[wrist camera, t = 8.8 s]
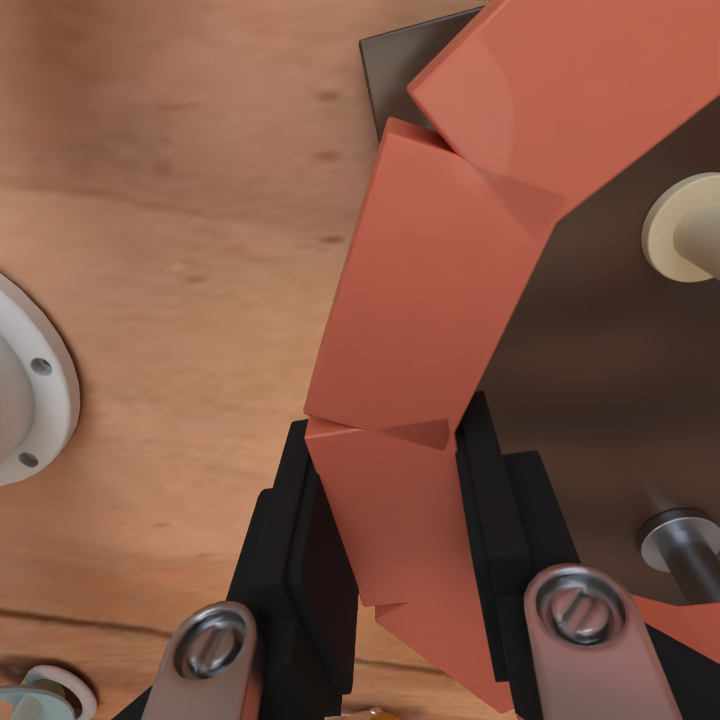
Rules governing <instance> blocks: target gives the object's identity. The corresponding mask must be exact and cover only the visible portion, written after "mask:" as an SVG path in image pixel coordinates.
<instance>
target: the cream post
mask: <svg viewBox="0 0 720 720" xmlns="http://www.w3.org/2000/svg"><path fill="white" fill-rule="evenodd" d="M641 244H642V250H643V253H644V255H645V258H646V259H647V261H648V263H649V264H650V265H651V266H652V267H653V268H654V269H656V270H657V271H658V272H660V273H661V274H662V275H664V276H666V277H667V278H670V279H672V280H675V281H680V282H698V281H703V280H707V279H710V278H713V277H715V278H716V279H718V280H719V281H720V173H717V172H709V173H701V174H697V175H694V176H691V177H688V178H686V179H684V180H682V181H680V182H678V183H676V184H675V185H673V186H672V187H670V188H669V189H668V190H667V191H665V192H664V193H663V194H662V195H661V196H660V197H659V198H658V199H657V201H656V202H655V203H654V205H653V206H652V207H651V209H650V211H649V212H648V214H647V216H646V219H645V221H644V224H643V228H642V234H641Z"/></svg>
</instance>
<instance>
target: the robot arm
mask: <svg viewBox="0 0 720 720" xmlns="http://www.w3.org/2000/svg"><path fill="white" fill-rule="evenodd" d="M79 411H80V389H79V382H78V379H77V375H76V371H75V368H74V364H73V361H72V359H71V357H70V355H69V353H68V351H67V349H66V347H65V345H64V343H63V341H62V339H61V337H60V335H59V334H58V333H57V331H56V330H55V328H54V327H53V326H52V324H51V323H50V321H49V320H48V318H47V317H46V316H45V314H44V313H43V312H42V311H41V310H40V309H39V308H38V307H37V306H36V305H35V304H34V302H33V301H32V300H31V299H30V298H29V297H28V296H27V295H26V294H25V293H24V292H23V291H22V290H21V289H20V288H18V287H17V286H16V285H15V284H13V283H12V282H11V281H10V280H8V279H7V278H6V277H5V276H3V275H2V274H1V273H0V486H3V485H7V484H11V483H15V482H19V481H22V480H25V479H27V478H29V477H31V476H33V475H35V474H37V473H39V472H40V471H41V470H43V469H44V468H45V467H46V466H47V465H49V464H50V463H51V462H52V461H53V460H54V459H55V458H56V457H57V456H58V454H59V453H60V452H61V451H62V450H63V448H64V447H65V446H66V445H67V444H68V442H69V440H70V438H71V436H72V434H73V432H74V430H75V428H76V426H77V422H78V417H79ZM308 420H309V419H305V420H299V421H294V422H292V423H291V426H290V429H289V433H288V436H287V440H286V443H285V447H284V450H283V454H282V457H281V461H280V464H279V468H278V471H277V475H276V478H275V482H274V485H273V488H270V489H264V490H263V491H261V492H260V495H259V497H258V499H257V502H256V506H255V509H254V512H253V515H252V518H251V522H250V525H249V528H248V531H247V534H246V538H245V541H244V544H243V547H242V550H241V553H240V557H239V560H238V563H237V566H236V569H235V573H234V576H233V579H232V582H231V585H230V589H229V592H228V595H227V598H226V601H220V602H217V603H213V604H210V605H207V606H205V607H203V608H202V609H200V610H198V611H196V612H195V613H193V614H192V615H191V616H190V617H189V618H187V619H186V620H185V621H184V622H183V623H182V624H181V625H180V626H179V628H178V629H177V630H176V631H175V633H174V634H173V635H172V637H171V639H170V641H169V643H168V645H167V647H166V649H165V652H164V655H163V658H162V661H161V664H160V667H159V669H158V672H157V675H156V678H155V681H154V684H153V685H152V686H151V687H150V688H148V689H147V690H146V691H145V692H144V693H142V694H141V695H140V696H139V697H138V698H136V699H135V700H134V701H133V702H132V703H130V704H129V705H128V706H127V707H126V708H124V709H123V710H122V711H121V712H120V713H119V714H117V715H116V716H115V717H114V718H113V719H111V720H324V717H332V716H341V705H342V695H345V694H350V693H351V691H352V685H353V671H354V656H355V641H356V625H357V610H358V594H359V588H358V585H357V582H356V579H355V576H354V573H353V571H352V568H351V565H350V562H349V559H348V556H347V553H346V550H345V548H344V545H343V542H342V539H341V536H340V533H339V530H338V528H337V525H336V522H335V519H334V516H333V513H332V510H331V507H330V505H329V502H328V499H327V496H326V493H325V490H324V487H323V484H322V482H321V479H320V476H319V473H316V470H315V467H314V464H313V462H312V459H311V456H310V453H309V450H308V447H307V445H306V442H305V439H304V437H305V433H306V429H307V424H308ZM455 437H456V442H457V448H458V451H457V452H456V453H455V457H456V463H457V470H458V476H459V482H460V488H461V495H462V501H463V507H464V513H465V520H466V526H467V532H468V538H469V545H470V550H471V556H472V562H473V568H474V573H475V578H476V583H477V589H478V594H479V599H480V604H481V609H482V615H483V620H484V625H485V630H486V636H487V641H488V646H489V651H490V656H491V662H492V667H493V672H494V677H495V682H509V685H510V691H511V696H512V701H513V703H514V709H515V713H516V714H518V715H519V716H520V717H521V718H522V719H524V720H720V664H719V663H717V662H715V661H713V660H712V659H710V658H708V657H706V656H704V655H703V654H701V653H699V652H697V651H695V650H694V649H692V648H690V647H688V646H686V645H685V644H683V643H681V642H679V641H677V640H676V639H674V638H672V637H670V636H668V635H667V634H665V633H663V632H661V631H659V630H658V629H656V628H654V627H652V626H650V625H649V624H647V623H645V622H644V621H643V619H642V616H641V614H640V611H639V609H638V606H637V604H636V602H635V600H634V598H633V597H632V595H631V593H630V592H629V590H628V589H627V588H626V587H625V586H624V585H623V584H622V583H621V582H620V581H619V580H618V579H617V578H616V577H614V576H613V575H611V574H609V573H607V572H605V571H604V570H602V569H600V568H597V567H593V566H590V565H586V564H583V563H581V561H580V559H579V556H578V554H577V551H576V548H575V546H574V543H573V540H572V538H571V535H570V532H569V530H568V527H567V525H566V522H565V519H564V517H563V514H562V511H561V509H560V506H559V504H558V501H557V498H556V496H555V493H554V490H553V488H552V485H551V482H550V480H549V477H548V475H547V472H546V469H545V467H544V464H543V461H542V459H541V456H540V454H539V452H538V451H537V450H532V451H525V452H518V453H511V454H504V455H502V453H501V449H500V446H499V442H498V439H497V435H496V432H495V428H494V425H493V421H492V417H491V414H490V410H489V407H488V403H487V400H486V396H485V393H484V390H481V391H475V392H474V394H473V396H472V398H471V400H470V402H469V404H468V406H467V409H466V411H465V413H464V415H463V417H462V419H461V421H460V423H459V425H458V427H457V429H456V431H455Z"/></svg>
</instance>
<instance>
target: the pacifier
mask: <svg viewBox="0 0 720 720" xmlns="http://www.w3.org/2000/svg"><path fill="white" fill-rule="evenodd" d="M59 683H60V684H62V685H64V686H65V687H67V688H69V689H70V690H71V691H72V692H73V693H75V695H76V696H77V697H78V698H79V700H80V702H81V704H82V709H79V710H73V708H72V706H71V705H70V703H69V702H68V701H67V700H65V692H64V690H63V688H62V687H61V685H60V684H59ZM0 700H2V701H5V702H10V703H12V704H13V705H14V708H13V714H12V716H11V717H10V719H9V720H90V719H92V718H93V716H94V715H95V714H96V710H97V703H96V698H95V697H94V695H93V693H92V691H91V690H90V688H89V687H88V686H87V685H86V684H85V683H84V682H83V681H82V680H81V679H80V678H79V677H77V676H75V675H74V674H72V673H71V672H69V671H67V670H64V669H62V668H59V667H56V666H50V665H40V666H35V667H34V668H32V669H31V670H29V671H28V673H27V675H26V677H25V678H24V679H23V681H22V682H21V684H20V685H5V686H0Z"/></svg>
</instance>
